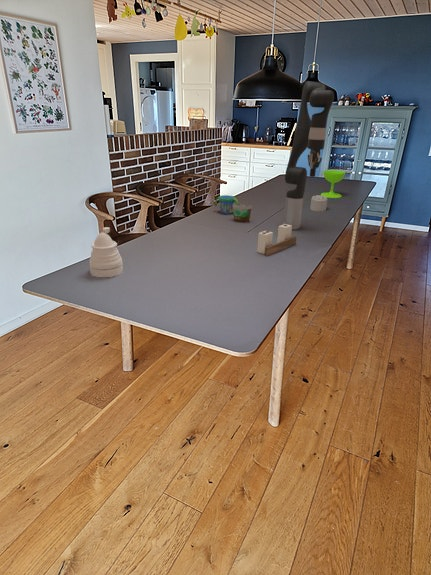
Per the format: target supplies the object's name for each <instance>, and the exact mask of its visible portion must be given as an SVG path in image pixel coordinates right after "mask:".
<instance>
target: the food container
mask: <svg viewBox="0 0 431 575" xmlns="http://www.w3.org/2000/svg"><path fill="white" fill-rule="evenodd" d="M232 207H233V220H234V221H235V222H237V223H248V222H250V218H251V213H252V209H253V205H252V204H249V205H246V204H243V203H242V204H237V203H235V202H234V203H233V206H232Z"/></svg>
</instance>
